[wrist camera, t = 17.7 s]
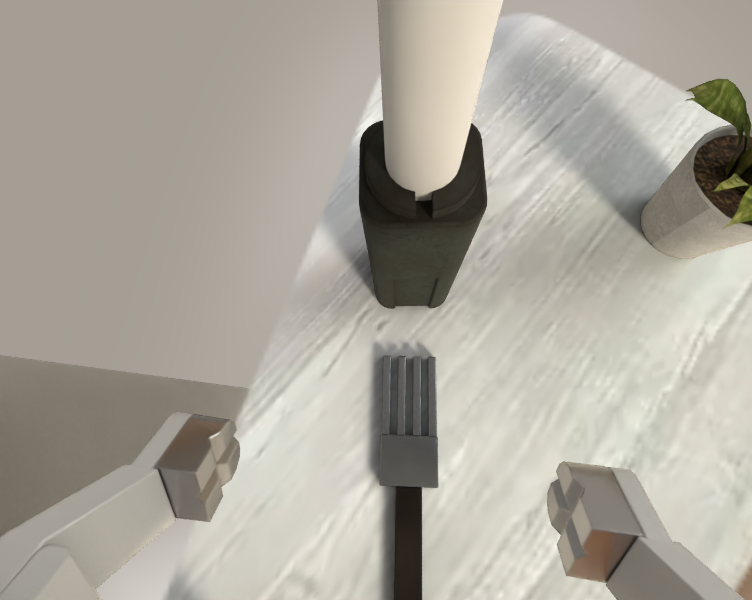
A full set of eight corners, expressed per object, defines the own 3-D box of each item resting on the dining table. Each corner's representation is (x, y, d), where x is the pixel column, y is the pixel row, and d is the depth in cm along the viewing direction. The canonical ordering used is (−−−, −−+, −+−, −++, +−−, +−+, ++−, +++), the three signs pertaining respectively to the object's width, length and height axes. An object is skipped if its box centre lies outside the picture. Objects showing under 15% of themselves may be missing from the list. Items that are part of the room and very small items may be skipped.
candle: (444, 241, 28) (713, -703, 4) (448, 308, 27) (878, -535, 3) (375, 243, 28) (261, -638, 4) (376, 309, 27) (211, -454, 3)
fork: (374, 679, 21) (374, 686, 21) (383, 356, 26) (382, 355, 26) (439, 684, 21) (440, 691, 20) (435, 358, 26) (436, 356, 25)
